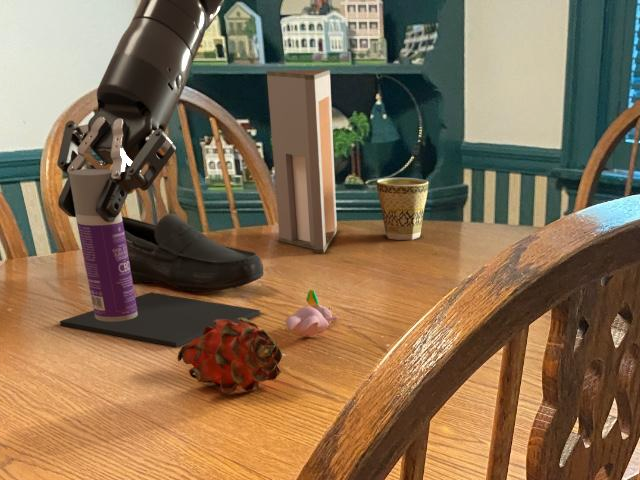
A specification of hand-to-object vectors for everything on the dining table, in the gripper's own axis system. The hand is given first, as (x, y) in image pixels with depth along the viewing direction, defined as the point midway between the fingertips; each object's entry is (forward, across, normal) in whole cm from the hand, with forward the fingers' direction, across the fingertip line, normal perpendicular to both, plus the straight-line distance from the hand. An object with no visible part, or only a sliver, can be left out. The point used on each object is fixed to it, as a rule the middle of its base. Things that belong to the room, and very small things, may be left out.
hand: (85, 214), depth 96 cm
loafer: (-14, -23, +40) cm, 49 cm away
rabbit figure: (-5, +10, +31) cm, 33 cm away
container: (+7, 0, +9) cm, 11 cm away
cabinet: (-41, -25, +67) cm, 83 cm away
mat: (-3, -12, +28) cm, 31 cm away
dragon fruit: (+10, +14, +15) cm, 23 cm away
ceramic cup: (-52, -11, +78) cm, 94 cm away
